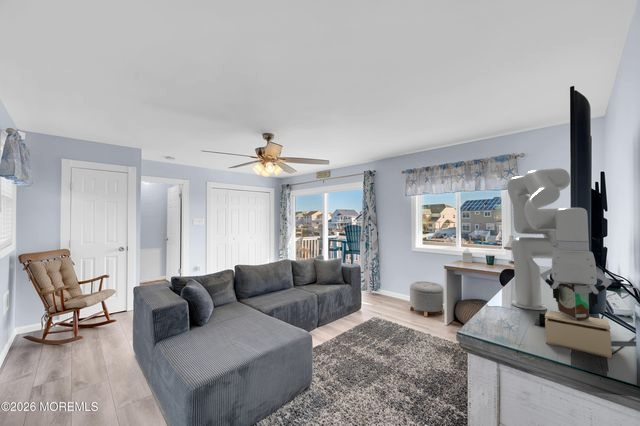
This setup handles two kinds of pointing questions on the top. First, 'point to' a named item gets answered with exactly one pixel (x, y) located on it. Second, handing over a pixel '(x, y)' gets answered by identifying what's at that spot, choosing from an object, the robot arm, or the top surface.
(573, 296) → the food container
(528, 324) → the top surface
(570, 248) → the robot arm
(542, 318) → the black box
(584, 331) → the carton
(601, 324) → the lid
